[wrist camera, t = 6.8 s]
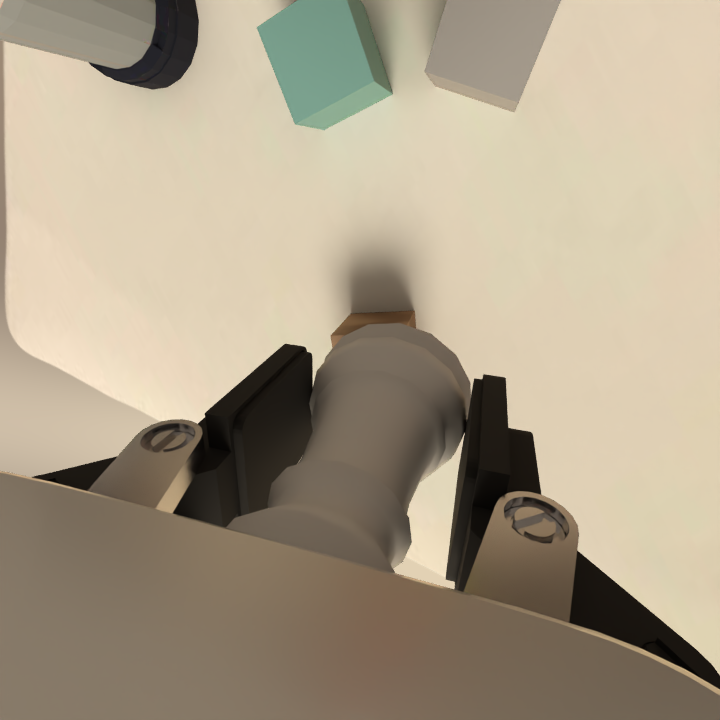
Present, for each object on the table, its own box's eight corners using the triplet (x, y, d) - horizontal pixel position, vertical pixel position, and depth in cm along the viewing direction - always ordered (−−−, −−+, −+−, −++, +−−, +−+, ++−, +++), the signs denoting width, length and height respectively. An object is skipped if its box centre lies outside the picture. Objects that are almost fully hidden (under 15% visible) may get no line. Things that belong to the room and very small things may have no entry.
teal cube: (363, 5, 26) (337, -28, 21) (392, 94, 27) (374, 81, 23) (293, 48, 28) (256, 27, 23) (324, 130, 29) (295, 124, 25)
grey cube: (555, 11, 24) (570, -23, 19) (513, 112, 26) (518, 102, 22) (468, -15, 24) (463, -54, 20) (435, 86, 27) (424, 71, 22)
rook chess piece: (304, 335, 13) (85, 533, 6) (451, 299, 11) (382, 515, 4) (352, 458, 14) (217, 735, 7) (488, 442, 13) (481, 777, 6)
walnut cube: (414, 310, 33) (402, 333, 28) (419, 370, 34) (409, 401, 30) (351, 313, 34) (330, 335, 30) (359, 371, 36) (341, 400, 32)
